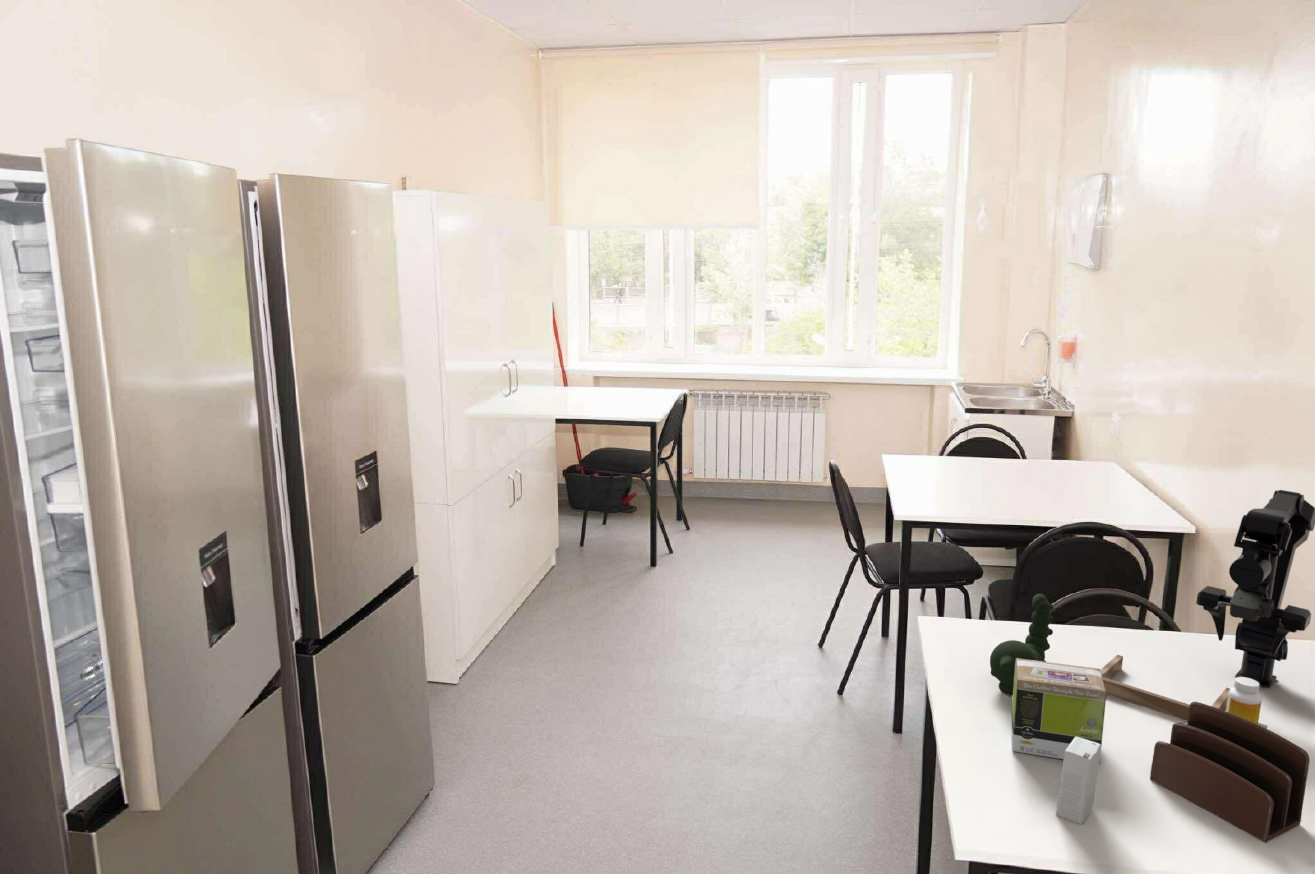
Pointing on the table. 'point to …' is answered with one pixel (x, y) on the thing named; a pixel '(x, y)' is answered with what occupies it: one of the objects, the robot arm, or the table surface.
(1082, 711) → the tea box
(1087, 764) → the skincare box
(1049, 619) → the toy figurine
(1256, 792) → the letter holder
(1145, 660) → the table surface
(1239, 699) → the supplement bottle
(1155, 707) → the walnut stall
